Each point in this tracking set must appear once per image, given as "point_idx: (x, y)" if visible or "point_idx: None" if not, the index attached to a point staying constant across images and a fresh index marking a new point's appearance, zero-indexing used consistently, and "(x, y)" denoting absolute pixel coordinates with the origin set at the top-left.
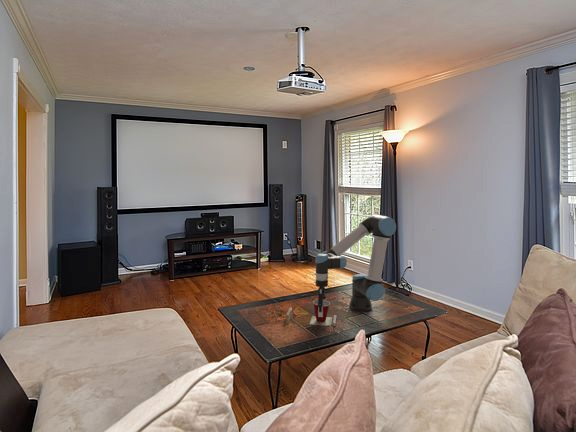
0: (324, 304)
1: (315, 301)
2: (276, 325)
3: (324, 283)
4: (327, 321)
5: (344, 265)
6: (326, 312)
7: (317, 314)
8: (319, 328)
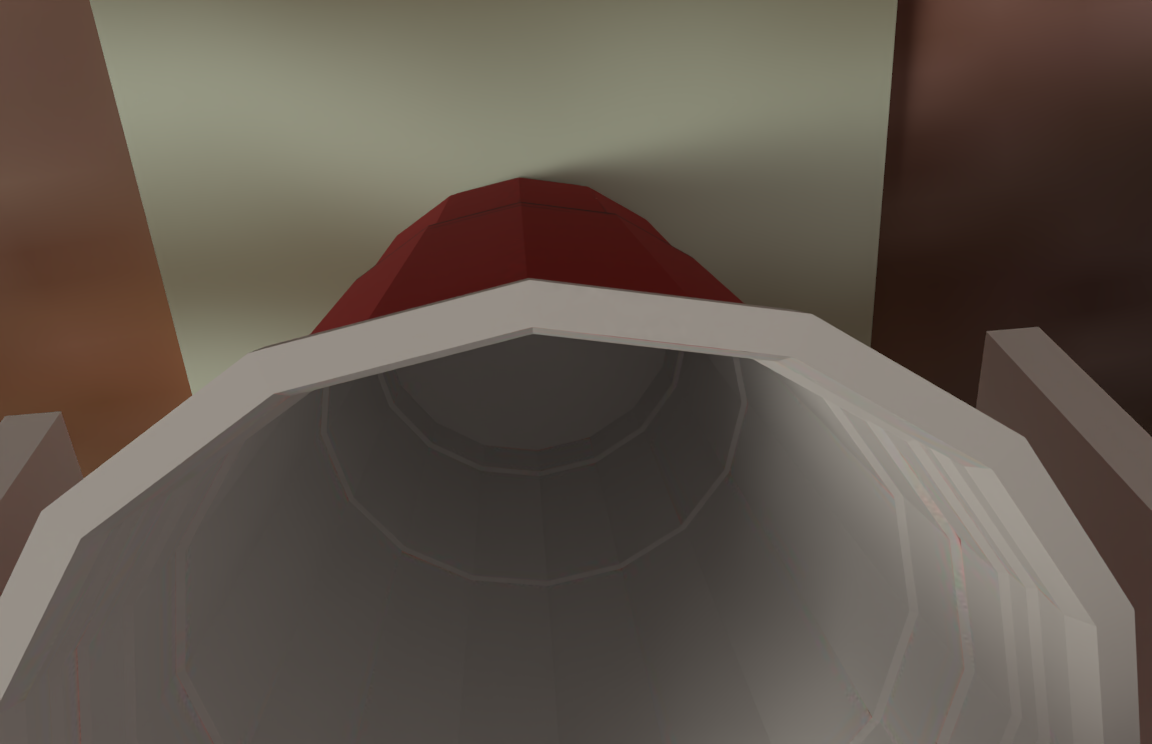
0: (160, 575)
1: None
2: None
3: None
4: (552, 100)
5: None
6: (668, 266)
7: (755, 550)
8: (1107, 252)
